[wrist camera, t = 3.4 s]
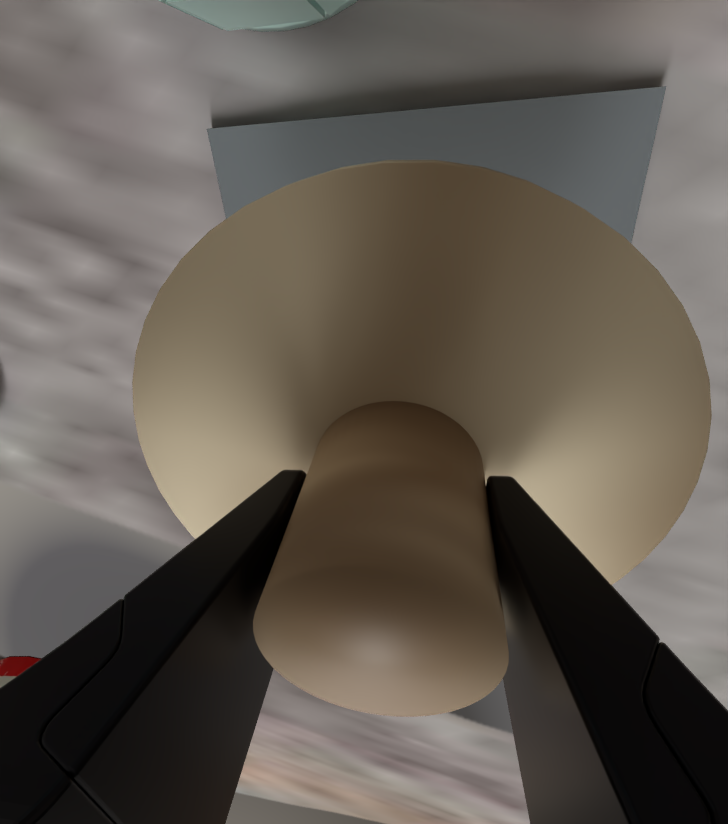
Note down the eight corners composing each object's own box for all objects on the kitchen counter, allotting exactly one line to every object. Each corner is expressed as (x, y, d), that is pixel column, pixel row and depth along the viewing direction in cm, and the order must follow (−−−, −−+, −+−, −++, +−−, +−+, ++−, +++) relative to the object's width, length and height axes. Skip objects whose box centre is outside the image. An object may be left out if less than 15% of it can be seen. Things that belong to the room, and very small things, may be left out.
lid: (791, 127, 6) (1382, 125, 2) (617, 622, 11) (703, 857, 8) (71, 185, 7) (-278, 239, 4) (222, 593, 13) (138, 775, 9)
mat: (660, 87, 13) (666, 86, 13) (585, 428, 19) (588, 433, 19) (211, 128, 15) (206, 128, 15) (274, 423, 22) (271, 428, 21)
